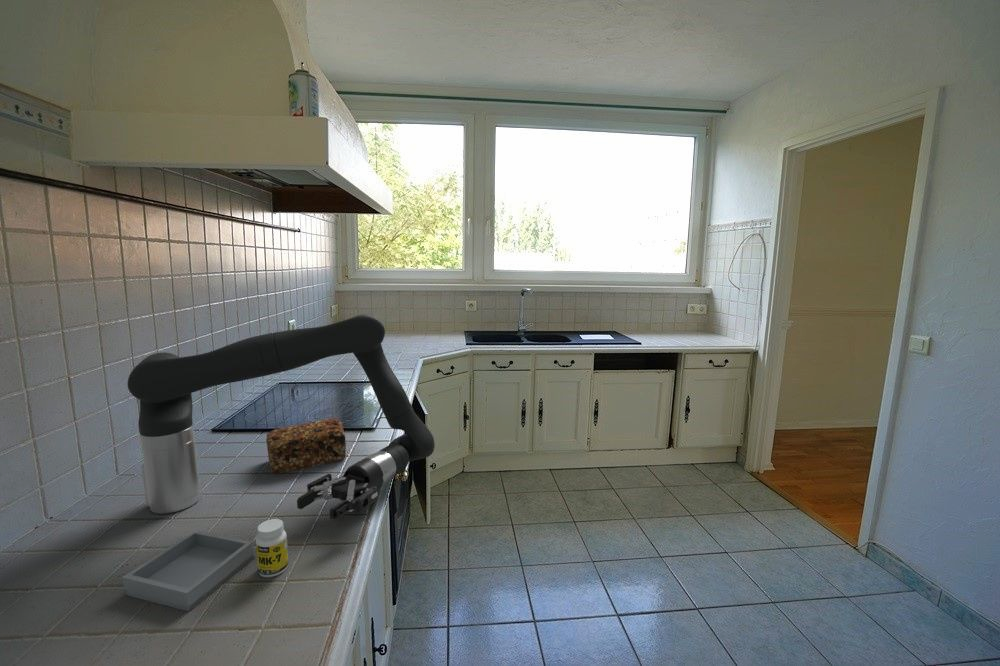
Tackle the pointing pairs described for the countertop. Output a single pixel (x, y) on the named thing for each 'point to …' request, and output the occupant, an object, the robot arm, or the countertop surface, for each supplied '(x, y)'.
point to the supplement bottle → (271, 548)
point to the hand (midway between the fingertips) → (314, 509)
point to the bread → (306, 445)
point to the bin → (188, 570)
